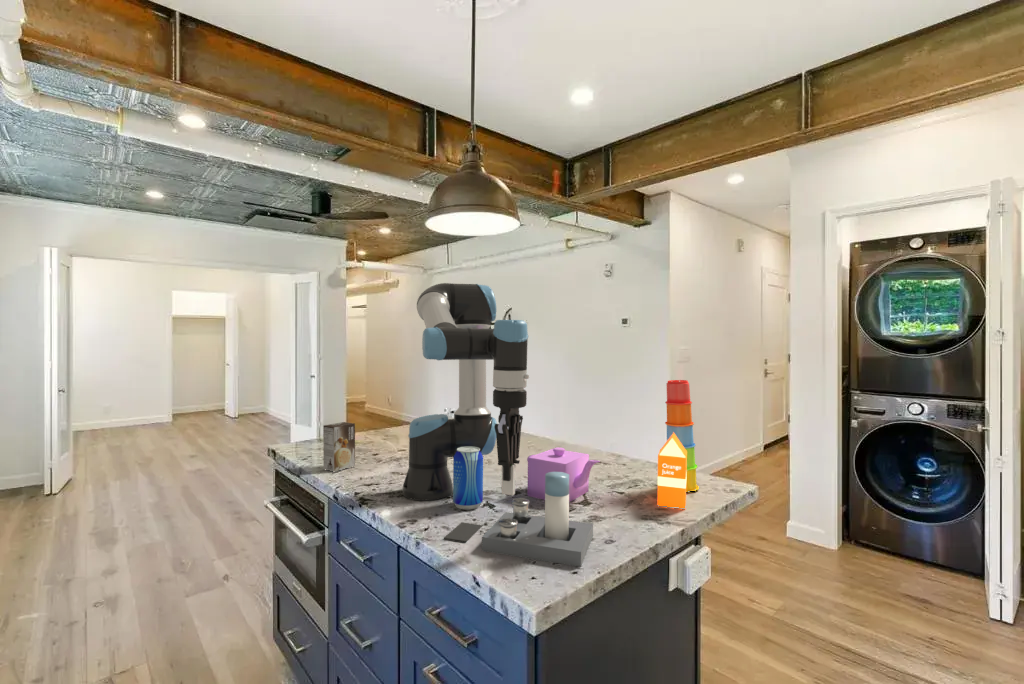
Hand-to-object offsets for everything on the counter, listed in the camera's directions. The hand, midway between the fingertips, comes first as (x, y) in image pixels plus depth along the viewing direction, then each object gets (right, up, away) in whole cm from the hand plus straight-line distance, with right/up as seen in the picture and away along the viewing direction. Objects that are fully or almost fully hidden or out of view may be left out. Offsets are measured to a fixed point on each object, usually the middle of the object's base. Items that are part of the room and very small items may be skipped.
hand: (508, 493), depth 106 cm
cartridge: (+11, -12, +1) cm, 16 cm away
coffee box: (-62, -12, +64) cm, 90 cm away
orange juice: (+47, -13, +31) cm, 58 cm away
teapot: (+16, -13, +38) cm, 44 cm away
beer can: (-12, -13, +28) cm, 33 cm away
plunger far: (+3, -9, +8) cm, 12 cm away
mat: (-9, -12, +8) cm, 17 cm away
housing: (+7, -13, +2) cm, 15 cm away
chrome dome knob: (0, -11, 0) cm, 11 cm away
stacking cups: (+55, -13, +45) cm, 73 cm away
